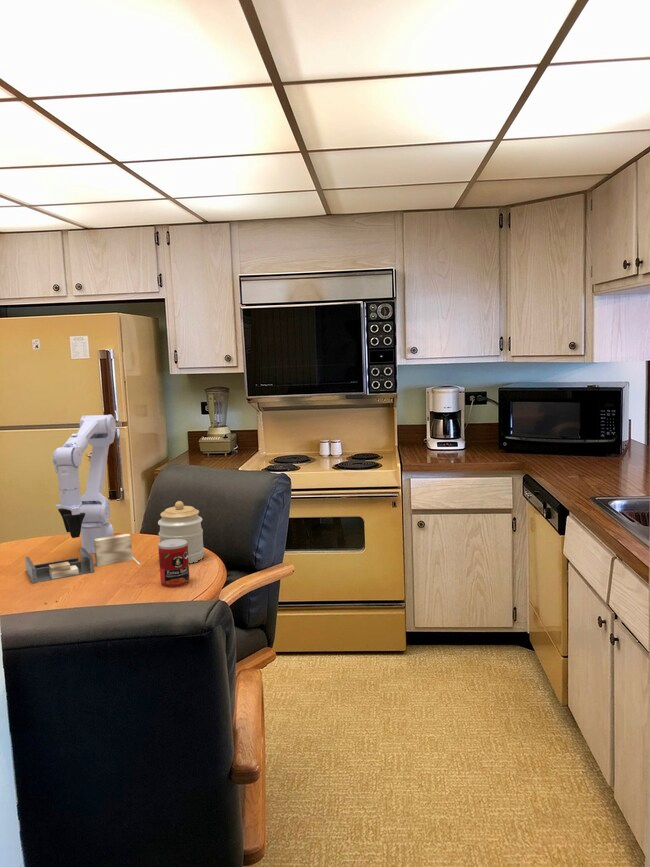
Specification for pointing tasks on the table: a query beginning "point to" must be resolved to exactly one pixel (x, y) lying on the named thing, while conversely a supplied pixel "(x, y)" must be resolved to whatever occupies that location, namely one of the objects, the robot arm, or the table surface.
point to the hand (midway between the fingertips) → (73, 534)
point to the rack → (42, 570)
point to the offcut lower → (65, 572)
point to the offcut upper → (59, 567)
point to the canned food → (173, 562)
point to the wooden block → (113, 549)
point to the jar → (183, 528)
